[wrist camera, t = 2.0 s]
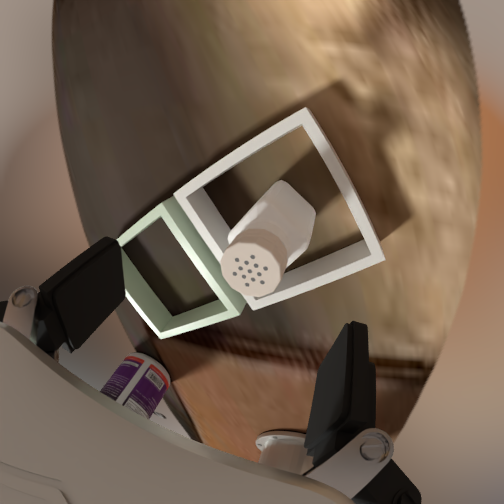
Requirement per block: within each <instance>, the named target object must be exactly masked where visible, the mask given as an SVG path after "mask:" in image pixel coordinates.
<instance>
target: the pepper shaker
mask: <svg viewBox="0 0 504 504" xmlns="http://www.w3.org/2000/svg"><path fill="white" fill-rule="evenodd" d="M315 216H316V212H315V210H314V208H313V207H312V206H311V205H310V204H309V203H308V202H307V201H306V200H305V199H304V198H303V197H302V196H301V195H300V194H299V193H298V192H297V191H295V190H294V189H293V188H292V187H291V186H290V185H289V184H288V183H287V182H285V181H282V180H280V181H277V182H275V183H274V184H273V185H272V186H271V187H270V189H269V190H268V191H267V192H266V193H265V194H264V195H263V196H262V197H261V198H260V199H259V200H258V201H257V202H256V203H255V204H254V206H253V207H252V208H251V209H250V210H249V211H248V212H247V213H246V214H245V215H244V217H243V218H242V219H241V220H240V221H239V222H238V223H237V224H236V226H235V227H234V228H233V229H232V230H231V231H230V232H229V235H228V242H229V246H228V247H227V248H226V250H225V252H224V254H223V256H222V258H221V261H220V263H221V270H222V276H223V277H224V278H225V280H226V281H227V282H228V284H229V285H230V286H231V288H233V289H234V290H236V291H238V292H240V293H242V294H243V295H245V296H255V297H261V296H264V295H266V294H269V293H271V292H274V290H275V289H276V287H277V286H278V284H279V283H280V282H281V280H282V277H283V274H284V272H285V268H286V267H288V266H289V265H290V264H291V263H292V262H294V261H295V260H296V259H297V258H298V257H299V256H300V255H301V254H302V253H303V252H304V251H305V250H306V249H307V247H308V245H309V243H310V239H311V234H312V230H313V225H314V221H315Z"/></svg>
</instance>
